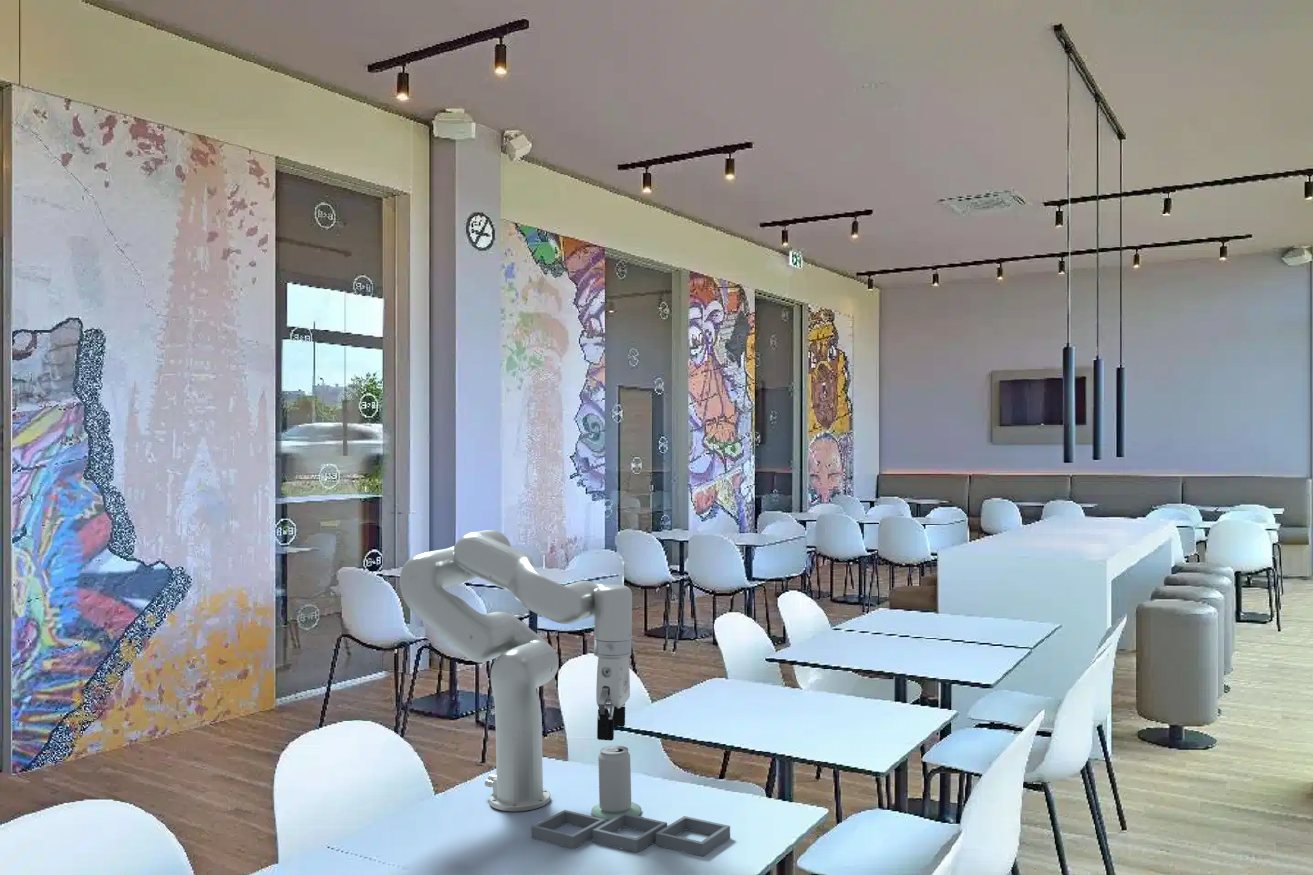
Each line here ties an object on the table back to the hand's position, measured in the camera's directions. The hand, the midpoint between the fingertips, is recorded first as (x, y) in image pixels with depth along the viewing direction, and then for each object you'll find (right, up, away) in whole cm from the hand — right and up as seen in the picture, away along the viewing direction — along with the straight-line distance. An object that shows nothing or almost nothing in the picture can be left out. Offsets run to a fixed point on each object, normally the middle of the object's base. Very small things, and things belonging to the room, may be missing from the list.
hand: (611, 732), depth 199 cm
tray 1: (-7, -16, -12) cm, 21 cm away
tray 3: (+16, -15, -16) cm, 27 cm away
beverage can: (+1, -15, 0) cm, 15 cm away
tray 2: (+4, -16, -14) cm, 21 cm away
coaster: (+1, -16, -1) cm, 16 cm away
